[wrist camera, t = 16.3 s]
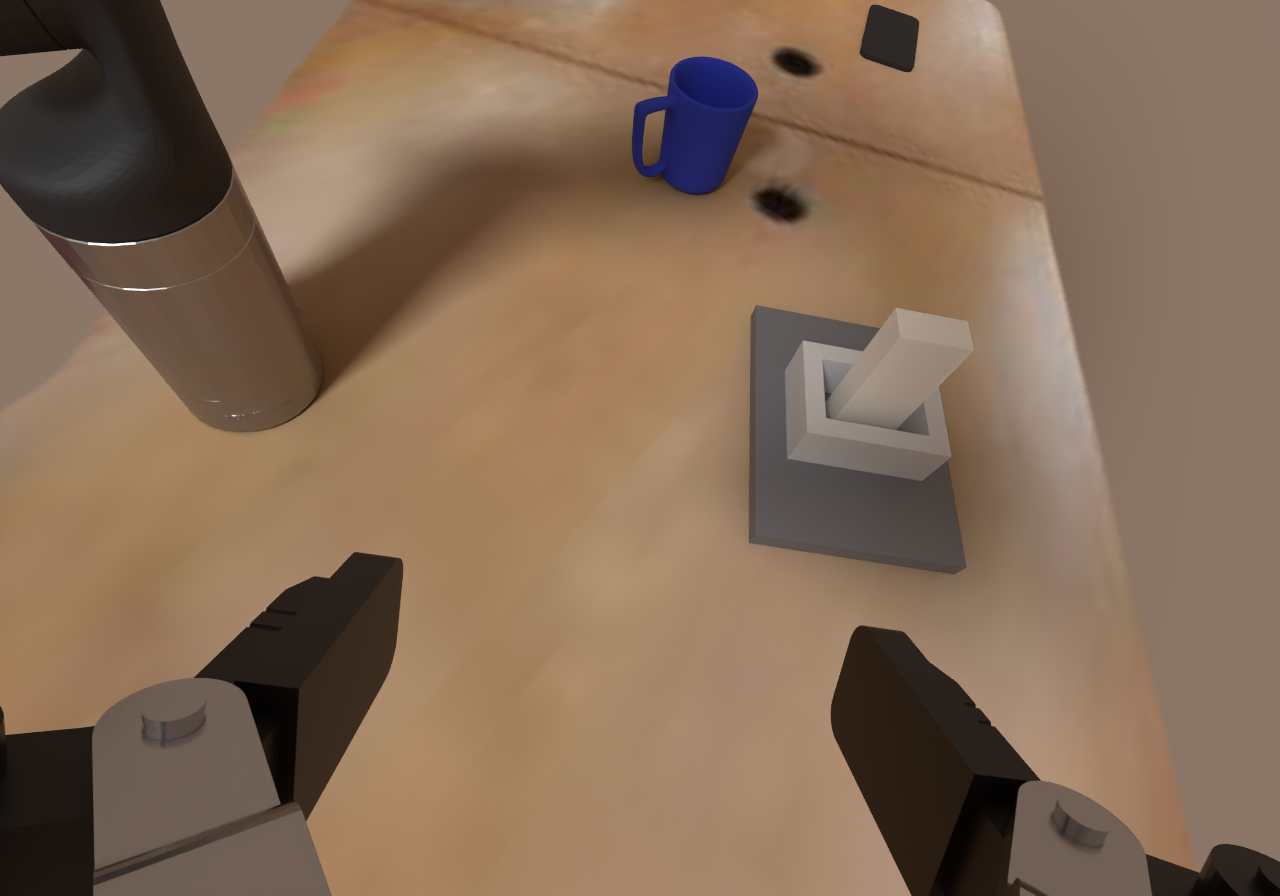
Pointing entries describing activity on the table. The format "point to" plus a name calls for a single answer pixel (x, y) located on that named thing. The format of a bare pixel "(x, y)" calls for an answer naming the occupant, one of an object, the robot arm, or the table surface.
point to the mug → (697, 123)
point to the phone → (890, 38)
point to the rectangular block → (900, 369)
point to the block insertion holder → (842, 456)
